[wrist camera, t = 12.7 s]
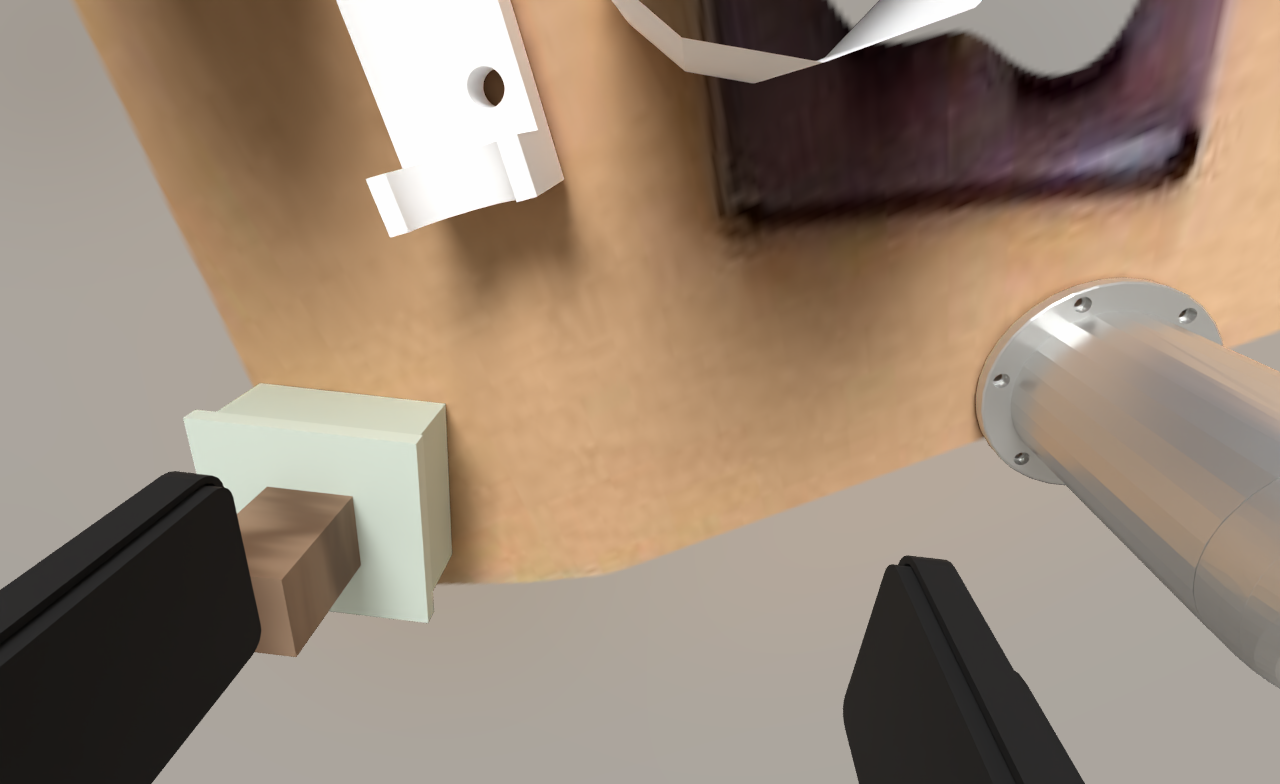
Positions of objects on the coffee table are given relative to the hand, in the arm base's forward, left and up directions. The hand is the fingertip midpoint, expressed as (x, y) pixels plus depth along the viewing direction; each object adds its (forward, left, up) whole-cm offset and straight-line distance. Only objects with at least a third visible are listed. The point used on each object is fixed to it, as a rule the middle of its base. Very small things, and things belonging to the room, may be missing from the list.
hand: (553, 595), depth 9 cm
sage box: (+18, +18, -28) cm, 38 cm away
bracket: (+10, -7, -29) cm, 31 cm away
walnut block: (+18, +18, -22) cm, 34 cm away
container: (-3, -15, -29) cm, 33 cm away
